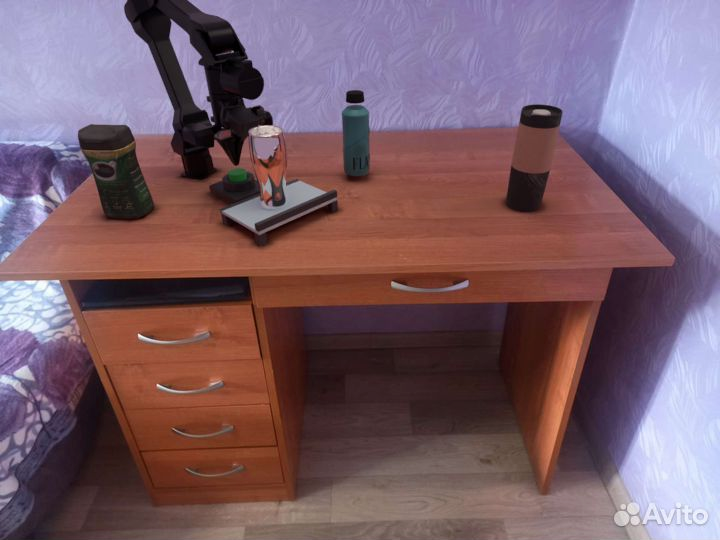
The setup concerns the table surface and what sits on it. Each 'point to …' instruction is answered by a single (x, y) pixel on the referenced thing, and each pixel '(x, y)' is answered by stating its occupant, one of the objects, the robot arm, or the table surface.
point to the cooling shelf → (264, 220)
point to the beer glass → (270, 165)
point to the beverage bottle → (355, 135)
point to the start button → (237, 175)
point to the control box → (235, 189)
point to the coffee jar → (116, 170)
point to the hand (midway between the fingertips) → (236, 165)
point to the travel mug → (532, 156)
